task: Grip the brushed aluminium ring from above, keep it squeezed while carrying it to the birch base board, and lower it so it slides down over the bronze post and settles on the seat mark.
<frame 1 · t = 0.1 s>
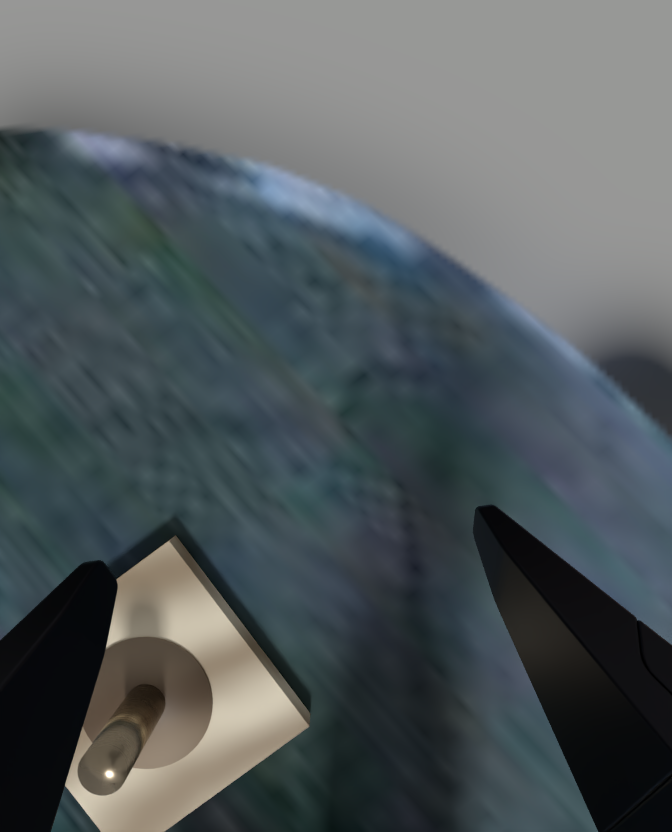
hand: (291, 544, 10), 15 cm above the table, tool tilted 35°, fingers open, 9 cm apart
birch base board: (153, 690, 25), on the table
bronze post: (126, 733, 22), on the birch base board, point 3 cm above the table
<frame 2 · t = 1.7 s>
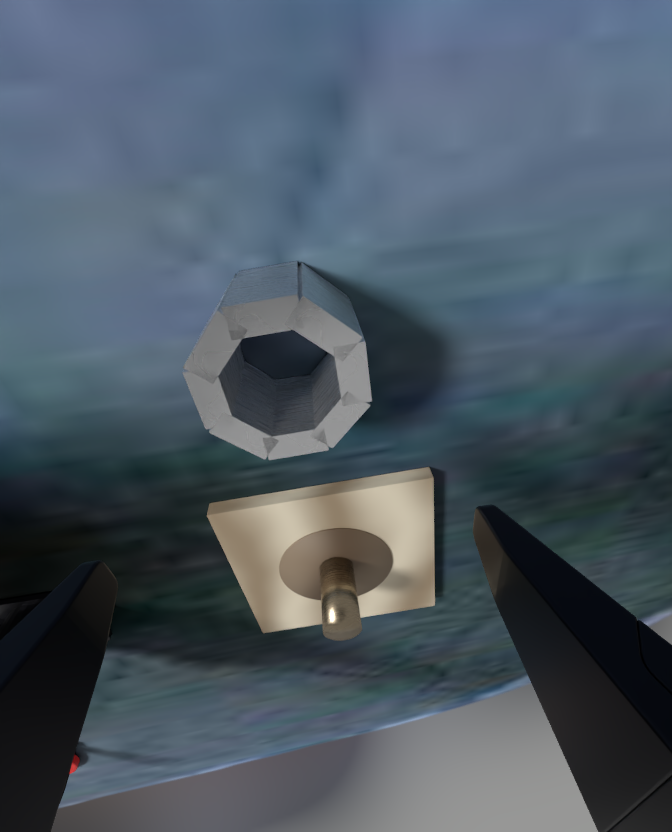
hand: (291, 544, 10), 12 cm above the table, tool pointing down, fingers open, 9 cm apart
birch base board: (335, 554, 29), on the table
aluminium ring: (284, 337, 19), on the table
bronze post: (339, 596, 26), on the birch base board, point 3 cm above the table
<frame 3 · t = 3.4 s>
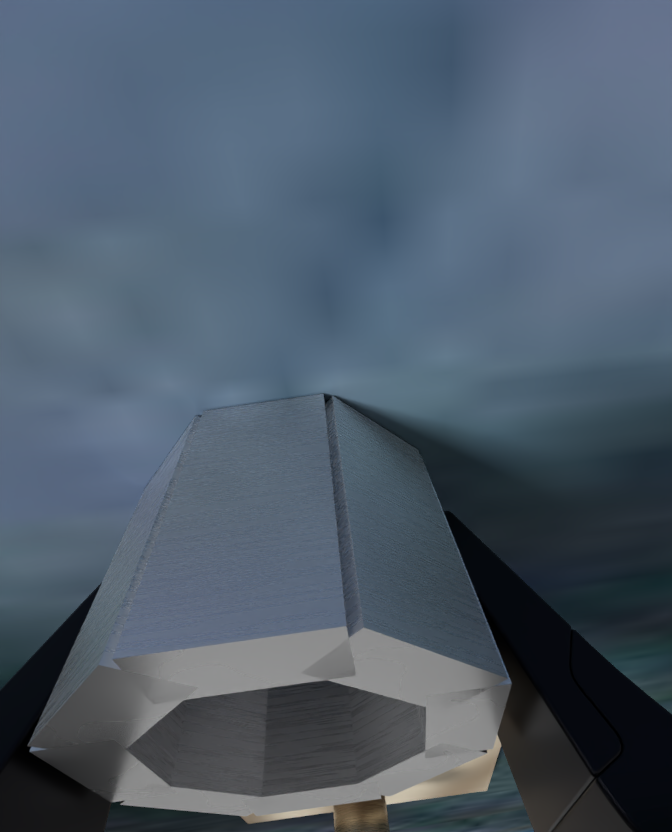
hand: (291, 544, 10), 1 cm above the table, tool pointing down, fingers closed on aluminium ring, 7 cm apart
birch base board: (353, 742, 20), on the table
aluminium ring: (292, 511, 10), on the table, touching gripper
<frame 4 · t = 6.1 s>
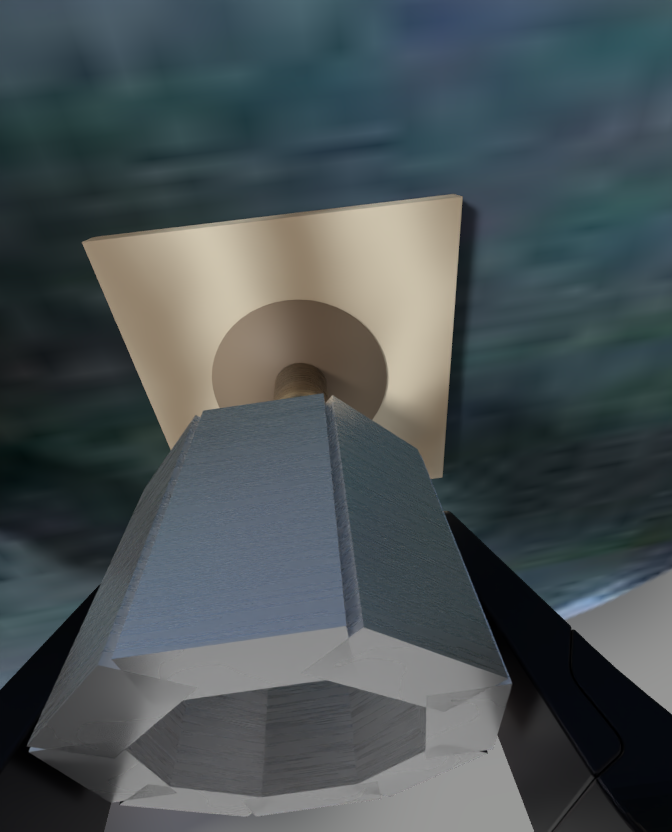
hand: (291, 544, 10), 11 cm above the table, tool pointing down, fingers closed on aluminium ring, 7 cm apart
birch base board: (300, 375, 19), on the table
aluminium ring: (292, 510, 10), point 10 cm above the table, touching gripper
bronze post: (300, 411, 17), on the birch base board, point 3 cm above the table
when the fingers open (3 cm above the table, at t = 9.2 s): aluminium ring drops 1 cm, resting on birch base board.
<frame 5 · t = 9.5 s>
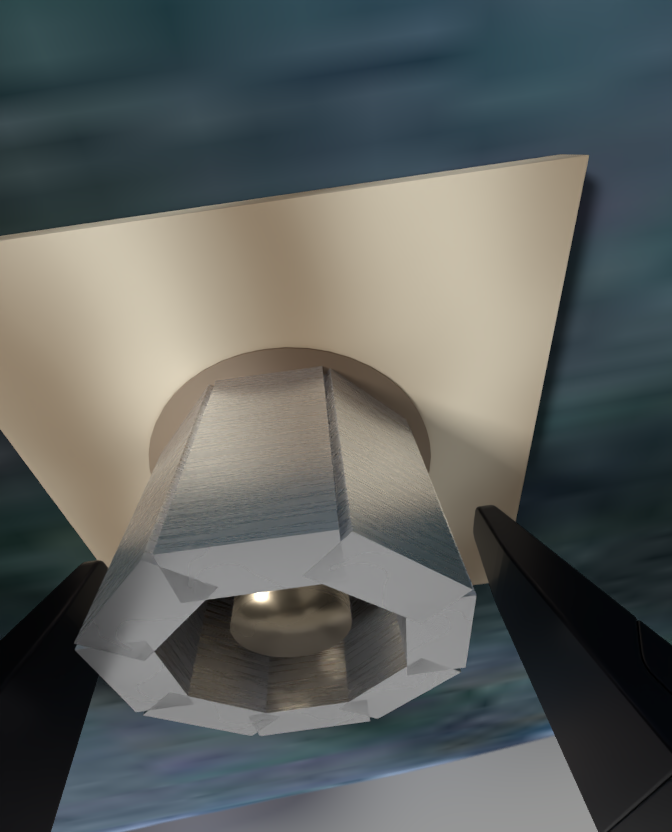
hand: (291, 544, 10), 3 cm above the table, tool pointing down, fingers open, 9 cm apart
birch base board: (294, 452, 12), on the table
aluminium ring: (293, 476, 12), point 1 cm above the table, touching birch base board
bronze post: (293, 535, 10), on the birch base board, point 3 cm above the table
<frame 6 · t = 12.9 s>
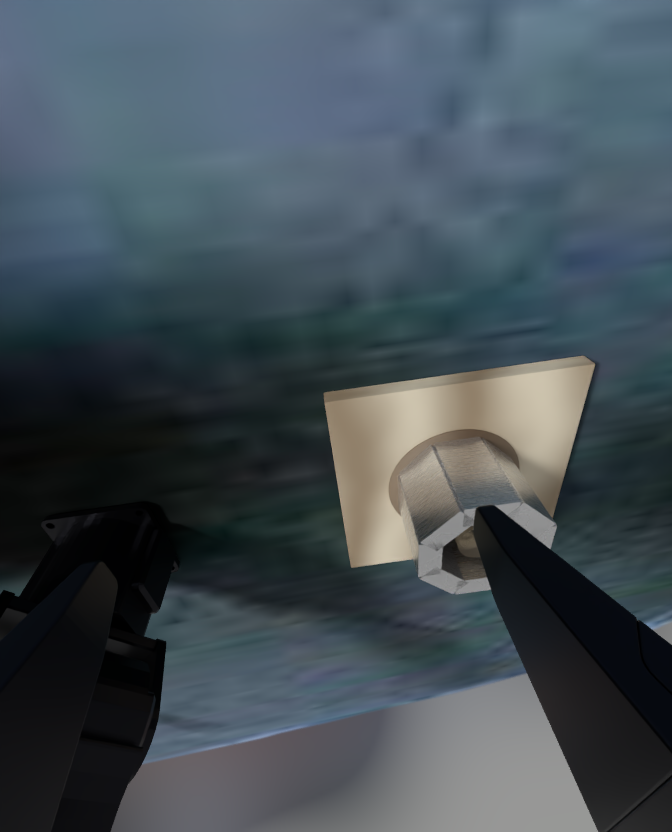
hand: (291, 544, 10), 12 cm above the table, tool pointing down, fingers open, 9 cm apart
birch base board: (448, 471, 25), on the table
aluminium ring: (453, 483, 24), point 1 cm above the table, touching birch base board
bronze post: (466, 510, 22), on the birch base board, point 3 cm above the table
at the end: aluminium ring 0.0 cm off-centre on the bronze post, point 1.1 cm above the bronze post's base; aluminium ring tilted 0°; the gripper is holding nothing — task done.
